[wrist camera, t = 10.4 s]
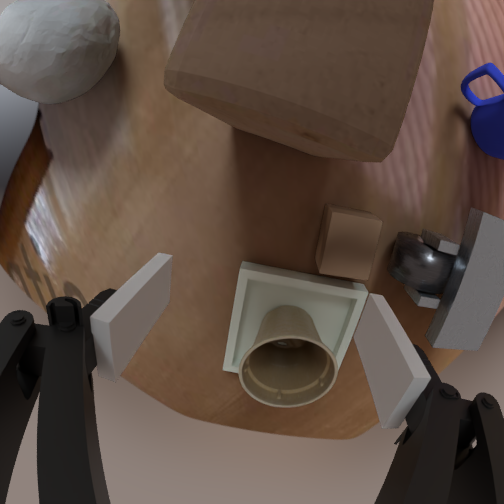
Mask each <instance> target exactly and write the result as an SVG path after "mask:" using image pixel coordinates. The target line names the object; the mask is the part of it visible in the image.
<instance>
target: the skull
mask: <svg viewBox="0 0 504 504" xmlns="http://www.w3.org/2000/svg"><path fill="white" fill-rule="evenodd" d="M119 36H120V25H119V19H118V17H117V14H116V13H115V11H114V9H113V8H112V7H111V6H110V4H109V3H107V2H106V1H105V0H17V1H15V2H13V3H11V4H10V5H9V6H8V7H6V9H5V10H4V11H3V12H2V14H1V15H0V84H1V85H3V86H4V87H6V88H8V89H9V90H11V91H12V92H14V93H16V94H17V95H19V96H21V97H24V98H27V99H30V100H32V101H36V102H39V103H45V104H56V103H61V102H65V101H69V100H71V99H74V98H76V97H78V96H81V95H82V94H84V93H86V92H87V91H88V90H90V89H91V88H92V87H93V86H94V85H95V84H96V83H97V82H98V81H99V80H100V79H101V78H102V76H103V75H104V74H105V72H106V71H107V70H108V68H109V67H110V65H111V64H112V62H113V60H114V58H115V56H116V51H117V46H118V41H119Z"/></svg>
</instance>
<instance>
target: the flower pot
mask: <svg viewBox="0 0 504 504" xmlns="http://www.w3.org/2000/svg"><path fill="white" fill-rule="evenodd" d="M278 342H283V343H286V345H281V344H278ZM337 374H338V364H337V361H336V358H335V356H334V354H333V353H332V351H331V350H330V349H329V348H328V347H327V346H326V345H325V344H324V343H323V342H322V341H321V339H320V336H319V334H318V332H317V330H316V327H315V325H314V322H313V319H312V318H311V316H310V315H309V314H308V313H307V312H306V311H305V310H304V309H302V308H299V307H297V306H291V305H284V306H280V307H278V308H276V309H274V310H272V311H270V312H268V313H267V314H266V315H265V317H264V318H263V320H262V322H261V326H260V328H259V331H258V334H257V336H256V339H255V342H254V344H253V345H252V347H251V348H250V349H249V350H248V351H247V352H246V353H245V354H244V356H243V357H242V359H241V362H240V365H239V380H240V383H241V385H242V387H243V388H244V390H245V391H246V392H247V393H248V394H249V395H250V396H251V397H252V398H254V399H255V400H257V401H259V402H261V403H263V404H266V405H269V406H274V407H281V408H282V407H284V408H289V407H298V406H303V405H306V404H309V403H312V402H314V401H316V400H318V399H319V398H321V397H322V396H324V395H325V394H326V393H327V392H328V391H329V390H330V389H331V388H332V386H333V385H334V383H335V381H336V378H337Z"/></svg>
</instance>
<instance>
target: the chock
mask: <svg viewBox="0 0 504 504" xmlns="http://www.w3.org/2000/svg"><path fill="white" fill-rule="evenodd" d="M382 224H383V221H382V220H380V219H379V218H378V217H376V216H375V215H373V214H372V213H371V212H367V211H362V210H357V209H352V208H347V207H341V206H336V205H331V204H325V209H324V214H323V219H322V225H321V230H320V235H319V240H318V245H317V249H316V254H315V260H316V264H317V267H318V270H319V273H321V274H327V275H334V276H341V277H347V278H354V279H360V280H367V281H368V278H369V275H370V271H371V268H372V264H373V260H374V256H375V253H376V249H377V245H378V241H379V237H380V233H381V228H382Z"/></svg>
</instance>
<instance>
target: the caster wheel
mask: <svg viewBox="0 0 504 504" xmlns="http://www.w3.org/2000/svg"><path fill="white" fill-rule="evenodd" d="M459 247H460V248H459ZM458 250H459V251H458ZM387 270H388V272H389V274H390V275H391V276H392V277H394V278H395V279H397V280H398V281H400V282H402V283H403V284H405V286H404V289H405V291H406V292H407V293H408V294H409V296H410V297H411V298H412V299H413V301H414V302H415V303H416V304H417V306H422V307H428V308H434V309H437V310H436V312H435V315H434V317H433V319H432V321H431V324H430V326H429V328H428V330H427V332H426V334H425V337H426V338H427V340H428V341H429V343H430V344H431V346H432V347H434V348H446V349H461V350H478V349H479V347H480V345H481V343H482V341H483V339H484V337H485V336H486V333H487V331H488V329H489V327H490V325H491V323H492V321H493V319H494V317H495V315H496V312H497V310H498V308H499V306H500V303H501V301H502V299H503V296H504V220H502V219H500V218H497V217H495V216H492V215H490V214H488V213H485V212H483V211H480V210H477V209H475V208H472V207H471V209H470V213H469V217H468V221H467V225H466V228H465V232H464V235H463V238H462V242H461V245H459V244H457V243H456V242H454V241H452V240H451V239H449V238H447V237H446V236H444V235H442V234H440V233H437V232H433V231H430V230H426V229H423V230H422V234H421V236H420V235H417V234H413V233H408V232H398V235H397V239H396V242H395V246H394V249H393V252H392V256H391V259H390V262H389V265H388V268H387ZM442 293H443V295H442V298H441V300H440V299H439V298H438V297H437V296H436V295H435V294H442ZM439 302H440V303H439ZM438 304H439V305H438ZM437 307H438V308H437Z"/></svg>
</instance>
